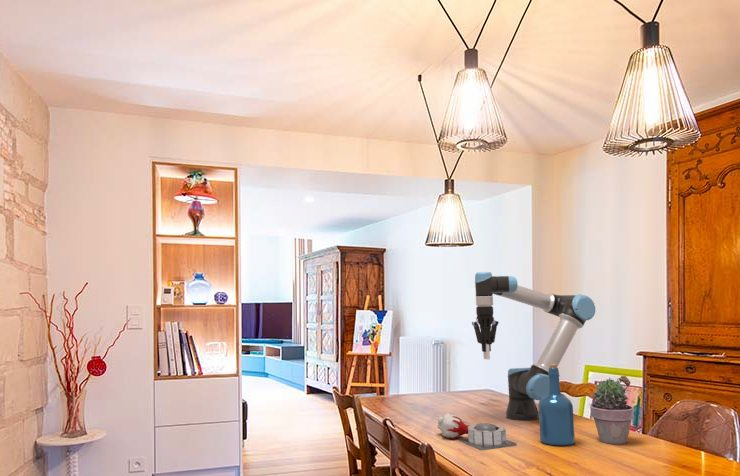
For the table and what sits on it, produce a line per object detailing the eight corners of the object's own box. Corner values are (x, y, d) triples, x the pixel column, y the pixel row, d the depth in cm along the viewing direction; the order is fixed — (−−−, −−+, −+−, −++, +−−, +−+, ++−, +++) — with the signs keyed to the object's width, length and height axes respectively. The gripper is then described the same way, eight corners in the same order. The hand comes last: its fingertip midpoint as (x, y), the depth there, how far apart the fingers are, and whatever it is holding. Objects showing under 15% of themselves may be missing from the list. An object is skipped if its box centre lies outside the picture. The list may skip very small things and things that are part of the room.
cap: (489, 437, 227) (489, 422, 228) (499, 442, 220) (499, 426, 220) (472, 439, 225) (472, 424, 225) (482, 444, 218) (481, 428, 218)
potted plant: (575, 439, 226) (571, 375, 228) (612, 434, 233) (608, 372, 236) (610, 450, 209) (606, 380, 212) (649, 443, 217) (644, 377, 219)
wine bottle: (571, 448, 212) (566, 366, 216) (535, 444, 219) (531, 365, 223) (579, 440, 224) (574, 363, 227) (545, 436, 231) (541, 361, 234)
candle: (437, 431, 241) (472, 438, 236) (431, 437, 230) (468, 445, 225) (439, 410, 241) (474, 416, 236) (433, 415, 231) (470, 421, 226)
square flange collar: (492, 436, 233) (492, 422, 233) (516, 445, 218) (515, 429, 219) (458, 440, 227) (458, 425, 227) (481, 450, 212) (480, 434, 213)
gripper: (492, 305, 263) (494, 357, 260) (467, 306, 258) (469, 359, 255) (501, 305, 256) (503, 359, 253) (476, 306, 251) (478, 360, 248)
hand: (486, 359), depth 254 cm, fingers closed
